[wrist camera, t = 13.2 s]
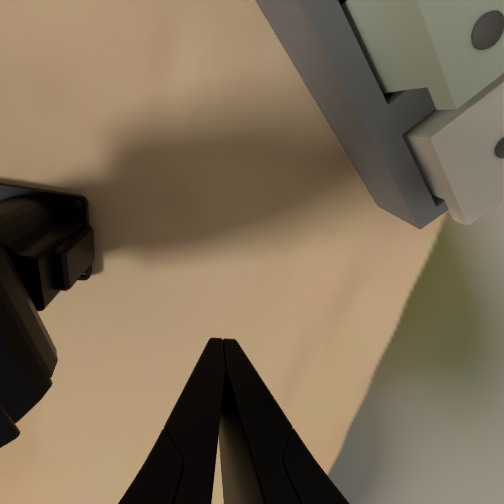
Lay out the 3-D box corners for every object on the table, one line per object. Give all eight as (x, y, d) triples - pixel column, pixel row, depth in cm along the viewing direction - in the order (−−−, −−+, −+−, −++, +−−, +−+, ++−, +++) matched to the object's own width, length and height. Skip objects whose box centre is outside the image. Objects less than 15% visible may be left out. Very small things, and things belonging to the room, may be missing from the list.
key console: (377, 206, 22) (420, 229, 17) (190, -109, 13) (179, -223, 9) (472, 136, 20) (545, 142, 16) (329, -272, 12) (399, -509, 7)
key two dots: (362, 111, 16) (459, 109, 10) (311, 13, 14) (394, -72, 7) (450, 39, 15) (621, -16, 9) (410, -80, 13) (605, -274, 6)
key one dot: (392, 193, 21) (469, 226, 15) (357, 130, 19) (431, 138, 12) (460, 142, 20) (576, 155, 13) (432, 69, 17) (556, 43, 11)
